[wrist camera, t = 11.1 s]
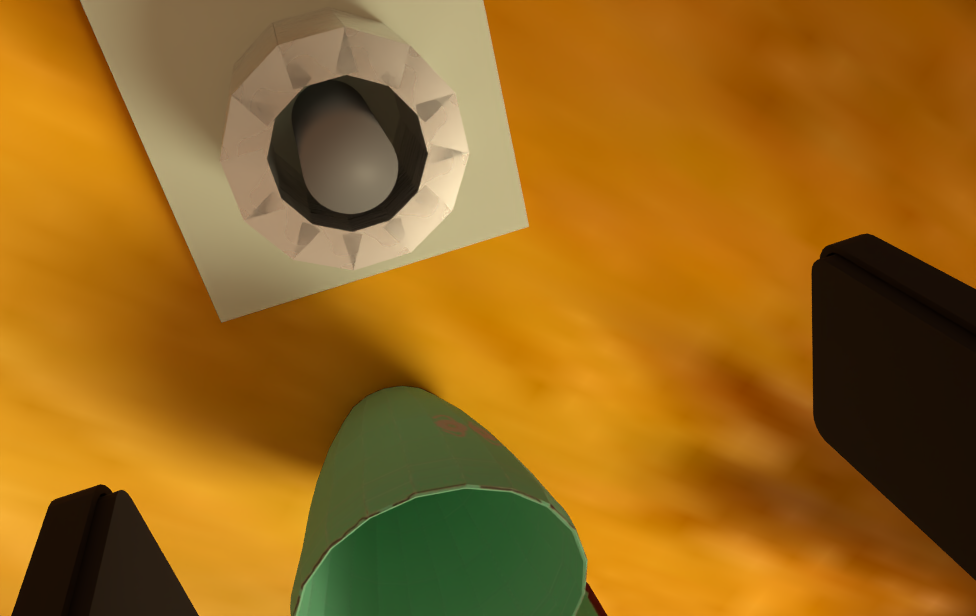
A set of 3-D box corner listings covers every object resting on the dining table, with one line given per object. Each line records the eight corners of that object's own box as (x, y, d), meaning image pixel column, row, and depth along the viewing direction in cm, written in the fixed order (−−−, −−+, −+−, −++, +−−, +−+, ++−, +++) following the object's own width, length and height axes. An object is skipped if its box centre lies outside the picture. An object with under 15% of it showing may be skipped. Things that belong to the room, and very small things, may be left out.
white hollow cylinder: (402, -14, 26) (433, 2, 22) (451, 181, 29) (487, 228, 25) (194, 42, 25) (183, 70, 21) (269, 237, 28) (273, 295, 24)
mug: (230, 461, 33) (224, 657, 24) (385, 288, 31) (438, 432, 23) (477, 593, 40) (541, 781, 31) (614, 457, 39) (721, 615, 30)
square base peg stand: (452, -118, 26) (514, -126, 20) (521, 217, 32) (586, 290, 26) (76, -25, 24) (20, -4, 18) (222, 310, 30) (216, 411, 24)
